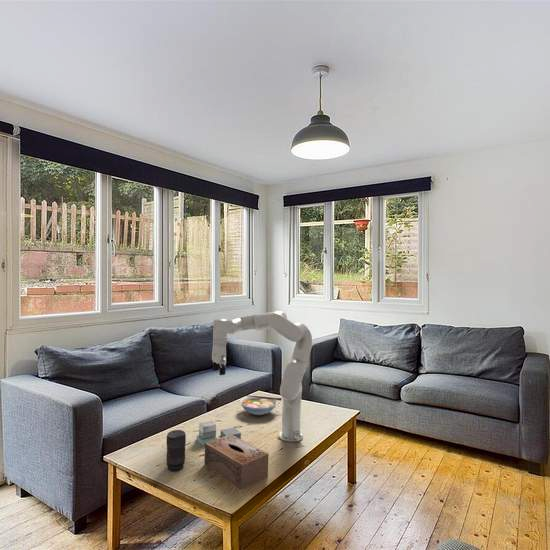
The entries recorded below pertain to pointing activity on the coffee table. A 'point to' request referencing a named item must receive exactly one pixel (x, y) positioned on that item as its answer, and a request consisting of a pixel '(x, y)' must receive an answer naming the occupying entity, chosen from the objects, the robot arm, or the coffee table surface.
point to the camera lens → (176, 450)
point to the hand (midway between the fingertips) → (218, 372)
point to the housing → (207, 430)
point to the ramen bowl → (258, 404)
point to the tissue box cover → (236, 460)
